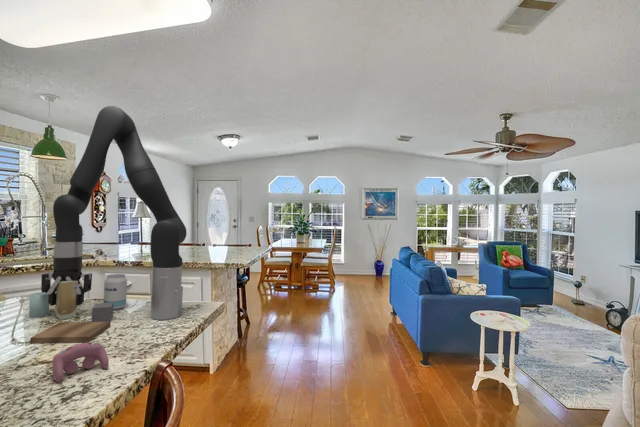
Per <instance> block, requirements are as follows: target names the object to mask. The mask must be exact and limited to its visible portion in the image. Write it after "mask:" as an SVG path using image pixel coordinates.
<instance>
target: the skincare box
mask: <svg viewBox="0 0 640 427" xmlns="http://www.w3.org/2000/svg"><path fill="white" fill-rule="evenodd" d="M74 283H75V284H76V285H77V286H78V281H60V282H59V284H58V285H57V286H58V287H57V290H56V305H54V306H55V308H54V312H55V313H54V316H55V317H56V318H57V319H58V320H59V321H63V320H67V319H68V320H69V319H73V318H77V306H76V295H77V292H76V289H74V288H73V285H74Z"/></svg>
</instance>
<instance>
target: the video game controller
mask: <svg viewBox="0 0 640 427" xmlns="http://www.w3.org/2000/svg"><path fill="white" fill-rule="evenodd" d="M81 358H84V359H83V361H82V362H81V365H82V368H83V369H84V370H88V369H89V370H90V369H91V368H93V367H94V365H95V363H96V360H97V361H98V362H99V364H100V366H101V367H102V368H103V369H105V370H106V369H108V367H109V357H108V354H107V351H106V348H105V347H104V346H103V345H102V344H101V343H99V342H81V343H77V344H74V345H72V346H69V347H67V348H64V349H61V350H60V351H59V352H58V353H57V354H55V355H54V356H53V358H52V366H51V367H52V373H53V377H54V380H55V382H57V383H59V384H60V383H62V381H63V379H64V378H63V377H64V373H65V374H67V375H69V374H70V375H71V374H73V373H75V372H77V371H78V368H79V364H78V362H76V361H75V360H77V359H81Z"/></svg>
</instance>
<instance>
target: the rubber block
mask: <svg viewBox="0 0 640 427" xmlns="http://www.w3.org/2000/svg"><path fill="white" fill-rule="evenodd" d="M113 306H114V303H104V302H103V303H95V304H94V305H93V306H92V308H91V321H90V322H112V320H113V318H114V310H113Z"/></svg>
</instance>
